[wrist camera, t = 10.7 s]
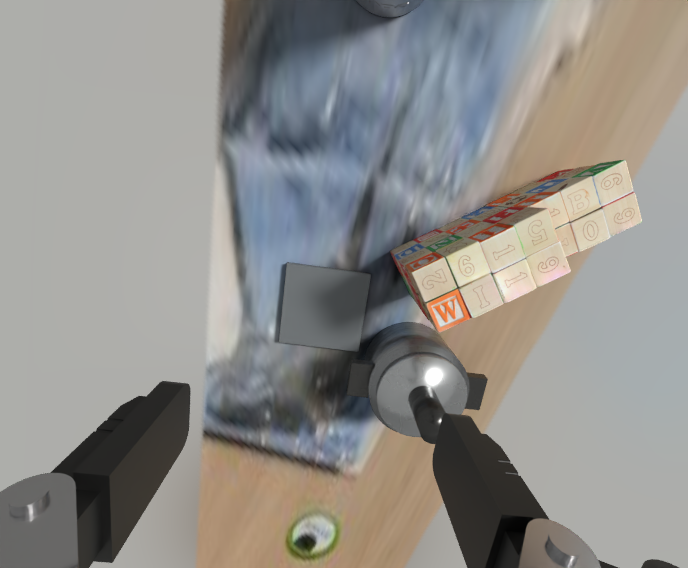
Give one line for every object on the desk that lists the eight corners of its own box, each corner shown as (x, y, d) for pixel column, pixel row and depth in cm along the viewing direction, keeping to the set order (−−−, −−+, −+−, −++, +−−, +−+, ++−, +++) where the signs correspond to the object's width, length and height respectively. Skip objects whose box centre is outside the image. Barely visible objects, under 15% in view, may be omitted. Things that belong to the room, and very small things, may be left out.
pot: (353, 314, 41) (357, 337, 35) (473, 330, 42) (499, 354, 35) (341, 392, 44) (342, 427, 37) (454, 405, 45) (475, 442, 38)
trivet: (287, 262, 40) (286, 263, 39) (370, 273, 40) (371, 274, 39) (279, 339, 42) (278, 342, 41) (357, 349, 43) (358, 351, 42)
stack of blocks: (558, 168, 38) (661, 153, 26) (574, 218, 39) (678, 226, 27) (388, 251, 40) (410, 272, 28) (409, 296, 41) (438, 335, 29)
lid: (384, 346, 35) (394, 376, 29) (472, 357, 35) (500, 389, 29) (369, 424, 37) (375, 467, 31) (452, 434, 38) (474, 478, 32)
